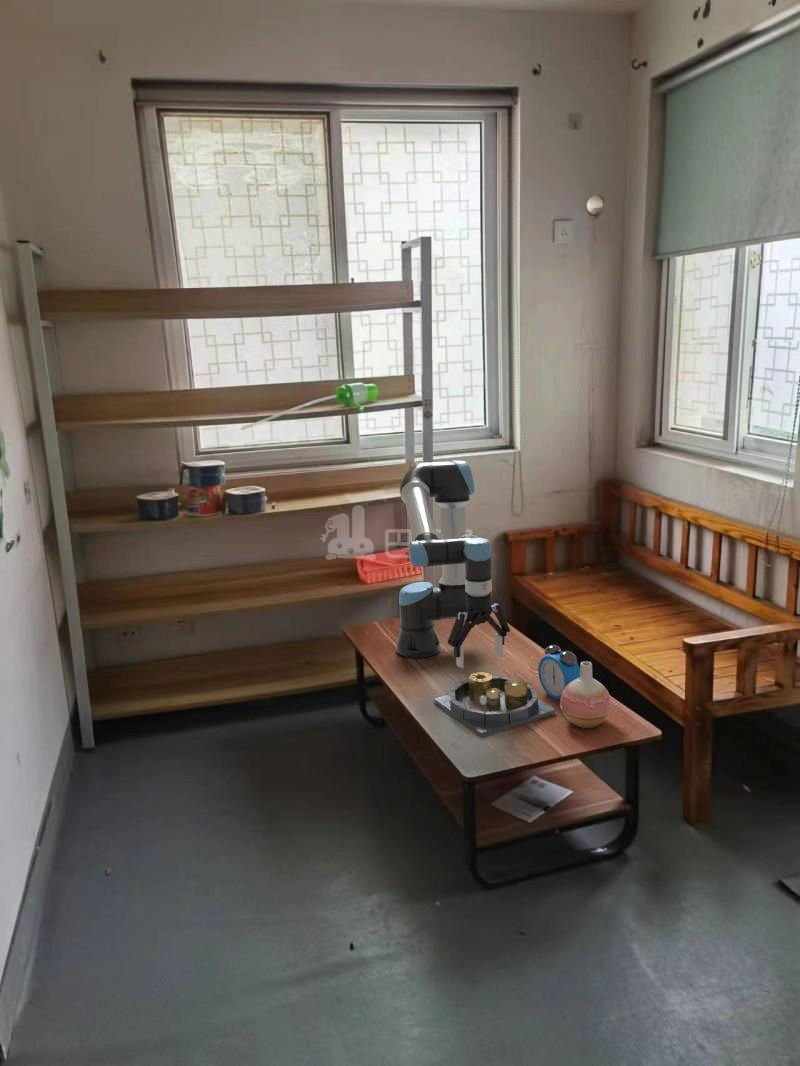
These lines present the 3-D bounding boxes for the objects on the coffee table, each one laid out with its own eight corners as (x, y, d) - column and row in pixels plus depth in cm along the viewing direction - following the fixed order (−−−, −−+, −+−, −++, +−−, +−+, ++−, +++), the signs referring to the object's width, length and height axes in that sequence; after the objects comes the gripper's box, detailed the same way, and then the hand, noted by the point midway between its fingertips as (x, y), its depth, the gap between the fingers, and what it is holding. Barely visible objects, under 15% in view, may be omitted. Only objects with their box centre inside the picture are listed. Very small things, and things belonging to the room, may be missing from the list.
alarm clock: (537, 690, 241) (537, 644, 237) (553, 685, 244) (553, 639, 240) (566, 706, 230) (567, 658, 226) (583, 701, 232) (583, 653, 229)
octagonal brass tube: (465, 694, 237) (465, 675, 236) (484, 689, 240) (483, 670, 238) (477, 702, 231) (477, 683, 230) (496, 697, 234) (496, 678, 233)
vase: (579, 739, 211) (580, 677, 207) (550, 718, 223) (550, 659, 219) (621, 727, 216) (623, 667, 212) (590, 707, 228) (591, 650, 224)
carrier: (434, 703, 236) (433, 679, 234) (503, 683, 247) (503, 660, 245) (481, 737, 214) (481, 712, 212) (555, 714, 225) (555, 689, 224)
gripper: (448, 604, 219) (450, 675, 225) (521, 587, 231) (521, 655, 236) (434, 597, 226) (436, 666, 231) (506, 580, 237) (507, 647, 242)
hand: (479, 661), depth 234 cm, fingers open, 13 cm apart
